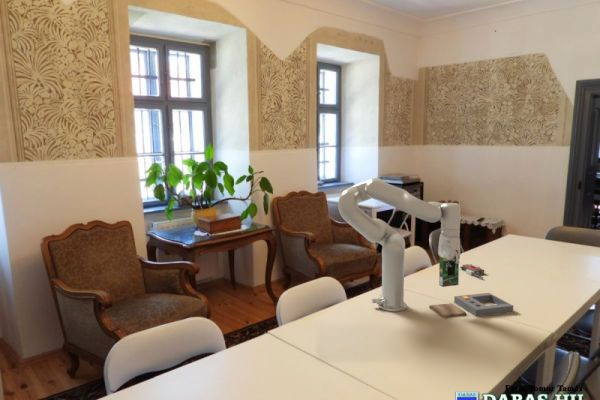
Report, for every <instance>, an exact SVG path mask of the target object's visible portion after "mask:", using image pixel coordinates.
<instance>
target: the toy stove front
mask: <svg viewBox="0 0 600 400" xmlns="http://www.w3.org/2000/svg"><path fill="white" fill-rule="evenodd" d="M487 302H492V303H493V304H492V305H486V304H484V303H487ZM453 304H454V305H457V306H459V308H462V309H463V310H465V312H466V311H467V312H468V313H470V314H471V315H473V316H474V317H485V316H494V315H503V314H511V313H514V305H513V304H511V303H509V302H507V301H506V300H504V299H502V298H500V297H498V296H496V295H494V294H492V293H490V292H483V293H473V294H465V295H464V294H463V295H457V296H456V295H454V299H453Z"/></svg>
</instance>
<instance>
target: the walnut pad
mask: <svg viewBox="0 0 600 400" xmlns="http://www.w3.org/2000/svg"><path fill="white" fill-rule="evenodd" d="M428 308H429V309H430V310H431V311H433V312H434V313H436V314H437V315H438V316H440V317H441V318H443V319H444V318H450V317H460V316H462V317H463V316H466V315H467V312H466V311H464V309H463V310H462V309H461V307H458V305H457V306H456V304H454V303H452V302H451V303H450V302H449V303H440V304H434V305H433V304H432V305H429V307H428Z"/></svg>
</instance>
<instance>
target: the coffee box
mask: <svg viewBox="0 0 600 400" xmlns="http://www.w3.org/2000/svg"><path fill="white" fill-rule="evenodd" d="M453 259H454V258H453ZM451 262H453V261H451ZM459 264H460V263H458V264H457V265H456V267H455V275H453V276H448V266H449V260H447V259H445V257H443V256H439V266H438V267H439V278H438V279H439V282H438V284H439V286H440V287H442V288H444V287H445V288H446V287H451V286H459V280H460V279H459V271H460V269H459V267H460V266H459Z"/></svg>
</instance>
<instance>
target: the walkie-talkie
mask: <svg viewBox="0 0 600 400" xmlns="http://www.w3.org/2000/svg"><path fill="white" fill-rule="evenodd" d="M460 269H461V270H462V271H464V272H466V274H467V275H469V276H471V277H474V276H475V277H477V278H479V279H482V280H483V279H484V277H483V276H482V275H485V269H484V268H483V269H482V268H481V267H480V266H479V265H476V264H471V263H467V264H463V265H462V266H460Z"/></svg>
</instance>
